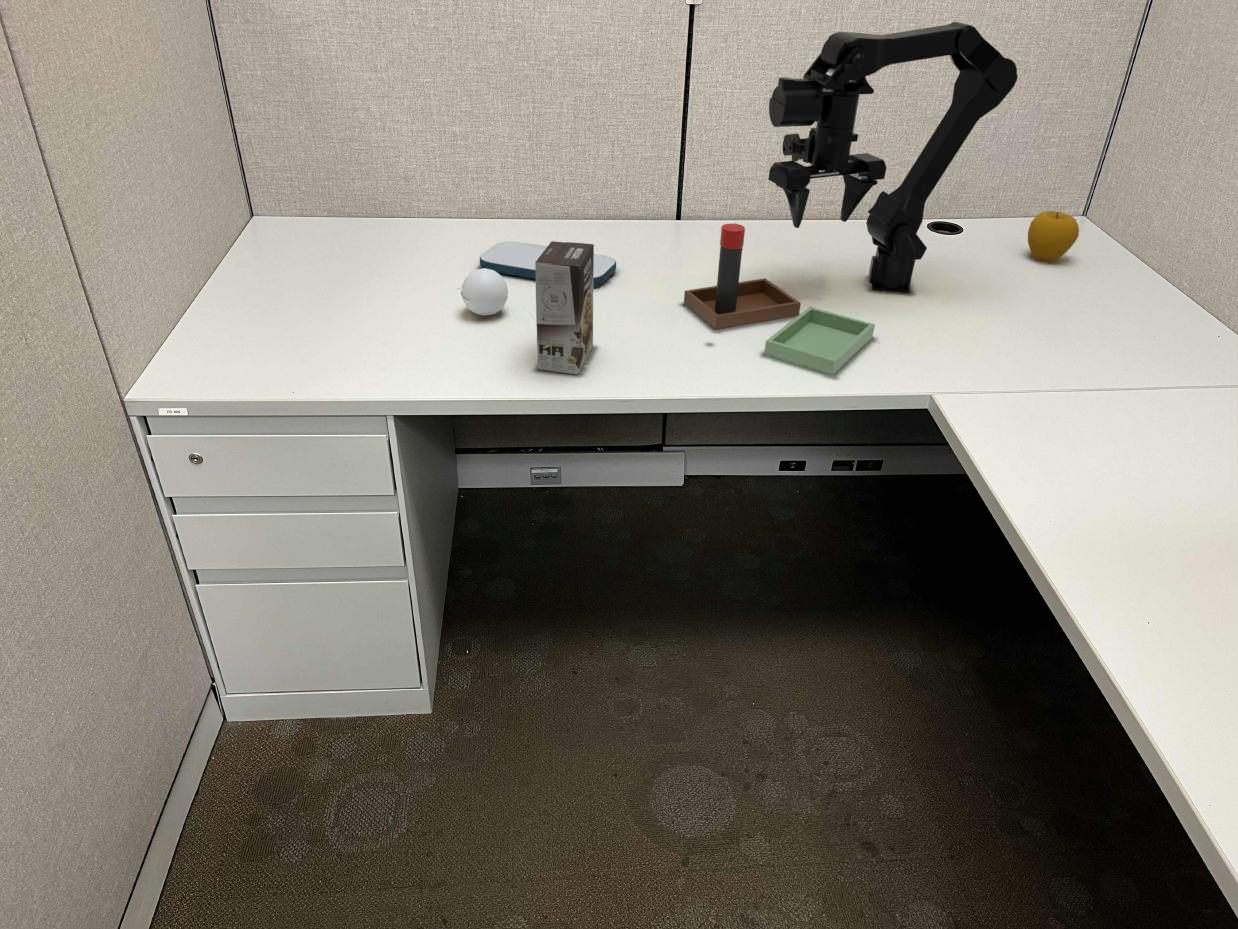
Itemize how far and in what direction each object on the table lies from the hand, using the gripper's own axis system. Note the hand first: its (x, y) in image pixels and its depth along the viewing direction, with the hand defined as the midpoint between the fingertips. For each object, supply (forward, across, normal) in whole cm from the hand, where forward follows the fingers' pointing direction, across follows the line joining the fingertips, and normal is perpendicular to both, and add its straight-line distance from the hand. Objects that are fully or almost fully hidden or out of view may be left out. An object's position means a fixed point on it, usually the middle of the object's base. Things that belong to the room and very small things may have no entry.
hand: (820, 224), depth 144 cm
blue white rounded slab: (+12, +38, -25) cm, 48 cm away
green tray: (+12, +10, +18) cm, 24 cm away
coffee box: (+12, +47, +8) cm, 50 cm away
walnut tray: (+12, +15, +2) cm, 19 cm away
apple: (+12, -52, +2) cm, 53 cm away
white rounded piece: (+12, +55, -12) cm, 58 cm away
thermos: (+12, +18, +2) cm, 21 cm away
